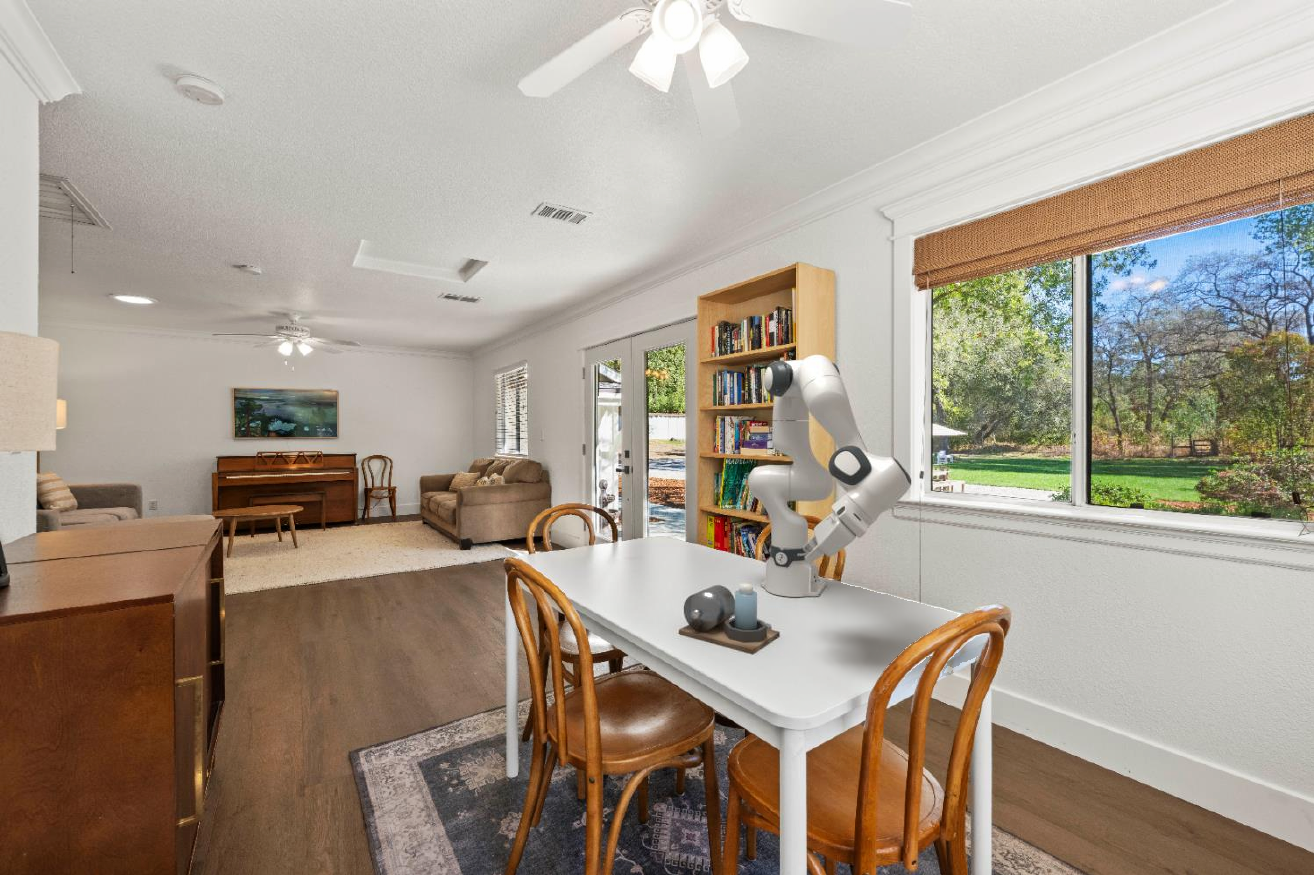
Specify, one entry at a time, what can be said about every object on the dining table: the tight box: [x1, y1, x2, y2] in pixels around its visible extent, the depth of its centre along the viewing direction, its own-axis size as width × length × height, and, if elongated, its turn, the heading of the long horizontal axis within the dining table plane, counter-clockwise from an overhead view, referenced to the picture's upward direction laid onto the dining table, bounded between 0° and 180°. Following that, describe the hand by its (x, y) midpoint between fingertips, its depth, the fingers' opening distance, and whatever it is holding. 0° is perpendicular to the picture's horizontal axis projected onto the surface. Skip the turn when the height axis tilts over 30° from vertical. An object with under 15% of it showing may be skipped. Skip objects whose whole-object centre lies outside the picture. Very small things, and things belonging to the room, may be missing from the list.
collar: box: [725, 617, 767, 643], centre depth 132 cm, size 9×9×2 cm
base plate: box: [678, 619, 780, 655], centre depth 135 cm, size 14×20×1 cm
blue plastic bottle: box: [734, 582, 758, 630], centre depth 132 cm, size 5×5×12 cm
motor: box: [683, 584, 735, 632], centre depth 137 cm, size 12×9×9 cm
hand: (805, 555), depth 130 cm, fingers open, 8 cm apart
